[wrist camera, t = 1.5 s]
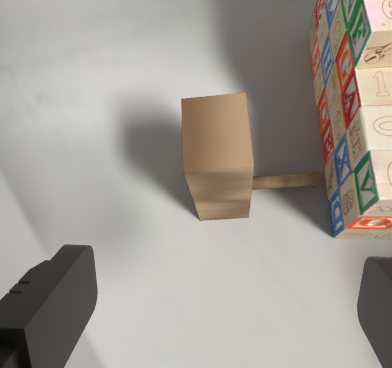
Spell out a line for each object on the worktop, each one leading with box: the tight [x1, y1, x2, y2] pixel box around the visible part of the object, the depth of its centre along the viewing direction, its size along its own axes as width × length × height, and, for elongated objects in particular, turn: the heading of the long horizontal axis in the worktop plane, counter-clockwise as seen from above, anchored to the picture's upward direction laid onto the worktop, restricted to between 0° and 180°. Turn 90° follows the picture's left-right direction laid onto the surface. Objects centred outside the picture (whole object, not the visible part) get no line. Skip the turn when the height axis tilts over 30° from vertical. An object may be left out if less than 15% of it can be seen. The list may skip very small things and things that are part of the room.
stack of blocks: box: [309, 0, 392, 239], centre depth 25 cm, size 21×6×12 cm, turn 178°
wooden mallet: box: [181, 93, 323, 221], centre depth 25 cm, size 10×5×10 cm, turn 92°
